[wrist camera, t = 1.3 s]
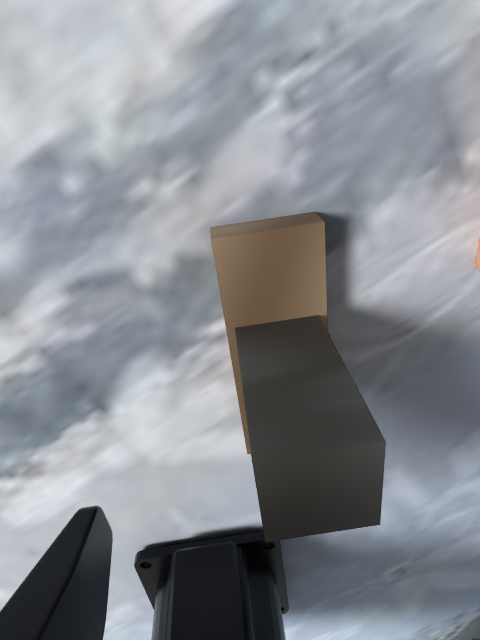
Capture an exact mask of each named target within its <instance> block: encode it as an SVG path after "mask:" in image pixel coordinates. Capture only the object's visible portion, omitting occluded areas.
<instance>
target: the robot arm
mask: <svg viewBox="0 0 480 640" xmlns="http://www.w3.org/2000/svg"><path fill="white" fill-rule="evenodd" d="M112 540H113V538H112V530H111V527H110V525H109V523H108V521H107V519H106V516H105V514H104V512H103V510H102V508H101V507H99V506H91V507H85V508H81V509H79V510H78V511H77V512H76V513H75V515H74V516H73V517H72V519H71V520H70V521H69V522H68V524H67V525H66V526H65V528H64V529H63V530H62V532H61V533H60V534H59V535H58V537H57V538H56V539H55V541H54V542H53V543H52V545H51V546H50V547H49V549H48V550H47V551H46V552H45V554H44V555H43V556H42V558H41V559H40V560H39V562H38V563H37V564H36V566H35V567H34V568H33V569H32V571H31V572H30V573H29V575H28V576H27V577H26V579H25V580H24V581H23V582H22V584H21V585H20V586H19V588H18V589H17V590H16V592H15V593H14V594H13V596H12V597H11V598H10V599H9V601H8V602H7V603H6V605H5V606H4V607H3V609H2V610H1V611H0V640H103V635H104V628H105V622H106V612H107V601H108V589H109V577H110V565H111V553H112ZM134 566H135V569H136V571H137V573H138V576H139V578H140V580H141V582H142V584H143V587H144V589H145V591H146V593H147V595H148V598H149V600H150V602H151V604H152V606H153V609H154V620H153V631H152V640H286V639H285V632H284V625H283V619H282V614H284V613H286V612H287V611H288V610H289V605H288V598H287V590H286V583H285V575H284V568H283V560H282V553H281V545H280V540H277V541H270V542H265V537H264V531H261V532H255V533H249V534H242V535H236V536H229V537H223V538H216V539H210V540H204V541H197V542H191V543H184V544H178V545H172V546H165V547H159V548H152V549H146V550H142V551H139V552H138V553H137V554H136V557H135V564H134Z"/></svg>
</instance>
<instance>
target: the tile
mask: <svg viewBox="0 0 480 640" xmlns="http://www.w3.org/2000/svg"><path fill="white" fill-rule="evenodd" d="M474 267H475V268H476V269H478V270H480V236H479V241H478V247H477V253H476V259H475V265H474Z"/></svg>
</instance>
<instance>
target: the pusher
mask: <svg viewBox="0 0 480 640" xmlns="http://www.w3.org/2000/svg"><path fill="white" fill-rule="evenodd" d="M211 242H212V248H213V254H214V259H215V265H216V271H217V277H218V283H219V289H220V295H221V301H222V307H223V313H224V318H225V324H226V330H227V336H228V342H229V348H230V354H231V360H232V366H233V372H234V377H235V383H236V389H237V395H238V401H239V407H240V413H241V419H242V425H243V431H244V436H245V442H246V448H247V454H251V456H252V463H253V469H254V475H255V481H256V488H257V494H258V500H259V506H260V512H261V518H262V524H263V530H264V537H265V542H270V541H277V540H283V539H290V538H297V537H303V536H310V535H316V534H323V533H329V532H336V531H342V530H349V529H355V528H362V527H368V526H375V525H380V518H381V503H382V488H383V474H384V459H385V444H386V441H385V439H384V437H383V435H382V434H381V432H380V430H379V428H378V426H377V424H376V422H375V420H374V419H373V417H372V415H371V413H370V411H369V409H368V407H367V405H366V403H365V402H364V400H363V398H362V396H361V394H360V392H359V390H358V388H357V386H356V385H355V383H354V381H353V379H352V377H351V375H350V373H349V371H348V369H347V368H346V366H345V364H344V362H343V360H342V358H341V356H340V354H339V352H338V351H337V349H336V347H335V345H334V343H333V341H332V339H331V337H330V335H329V334H328V331H327V292H326V253H325V222H324V221H323V220H322V219H321V218H320V217H319V216H318V215H317V213H316V212H311V213H304V214H297V215H291V216H284V217H277V218H271V219H264V220H257V221H251V222H244V223H237V224H231V225H224V226H217V227H211Z"/></svg>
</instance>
